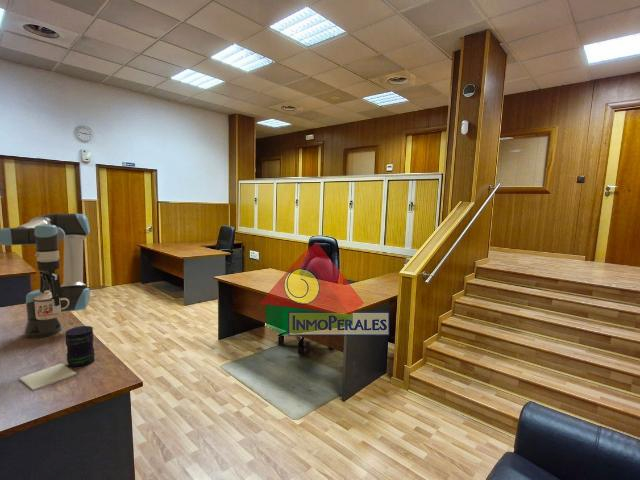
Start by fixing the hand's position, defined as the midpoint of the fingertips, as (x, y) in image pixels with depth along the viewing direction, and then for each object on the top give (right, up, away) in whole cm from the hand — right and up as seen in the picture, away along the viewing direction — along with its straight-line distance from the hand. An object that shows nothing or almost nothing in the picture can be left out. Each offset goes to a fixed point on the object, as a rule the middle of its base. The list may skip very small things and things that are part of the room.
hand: (52, 310), depth 144 cm
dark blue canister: (+14, -23, -1) cm, 27 cm away
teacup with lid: (0, -3, 0) cm, 3 cm away
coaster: (+9, -24, -12) cm, 29 cm away
